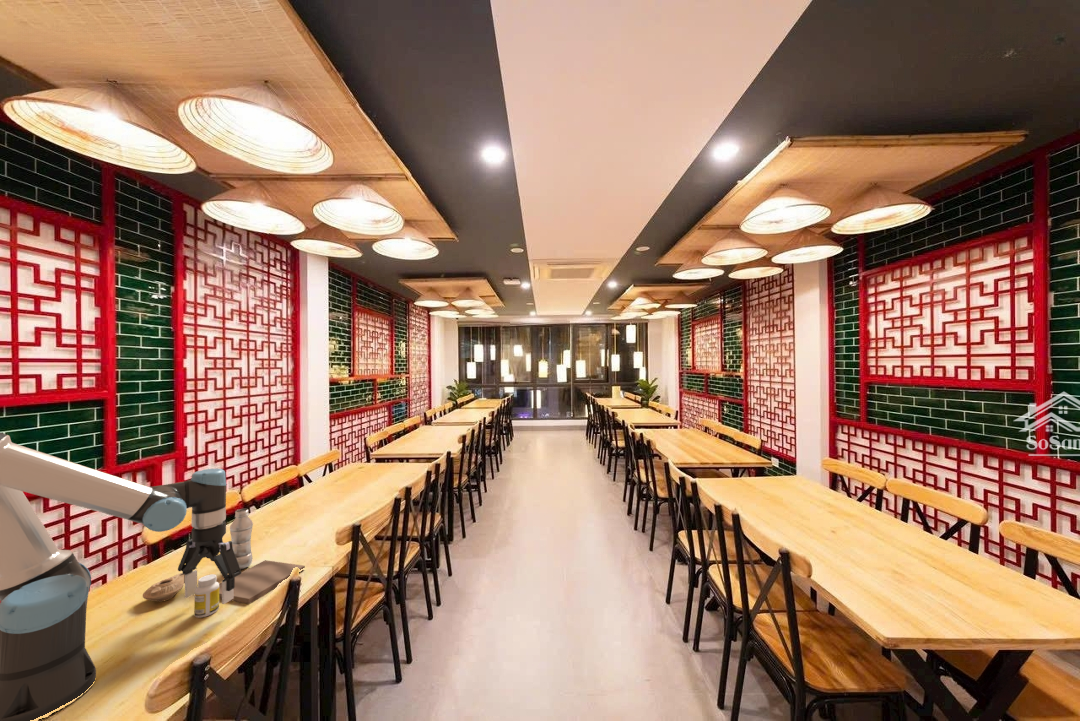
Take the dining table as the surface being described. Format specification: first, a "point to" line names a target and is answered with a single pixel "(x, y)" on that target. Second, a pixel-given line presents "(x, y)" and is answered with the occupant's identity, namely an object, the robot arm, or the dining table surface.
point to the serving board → (259, 580)
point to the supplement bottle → (206, 596)
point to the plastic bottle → (242, 538)
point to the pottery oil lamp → (165, 588)
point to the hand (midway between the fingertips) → (209, 598)
